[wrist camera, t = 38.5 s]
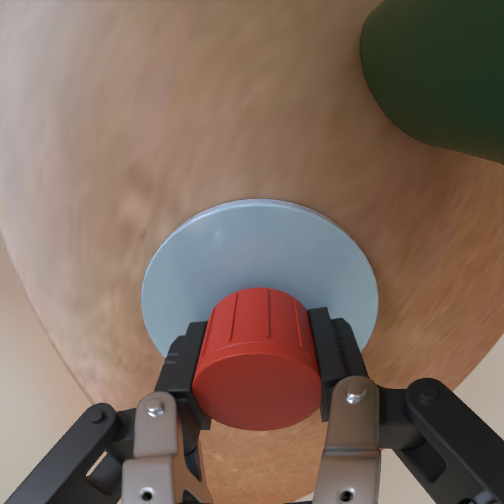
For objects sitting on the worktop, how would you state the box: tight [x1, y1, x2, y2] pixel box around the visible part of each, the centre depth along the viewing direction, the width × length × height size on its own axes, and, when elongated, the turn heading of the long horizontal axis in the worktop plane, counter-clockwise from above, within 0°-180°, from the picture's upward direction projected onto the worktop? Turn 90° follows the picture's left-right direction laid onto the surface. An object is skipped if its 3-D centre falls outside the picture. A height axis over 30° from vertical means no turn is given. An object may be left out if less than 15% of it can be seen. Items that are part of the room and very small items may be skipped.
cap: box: [192, 287, 321, 431], centre depth 9 cm, size 4×4×3 cm
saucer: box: [141, 199, 379, 359], centre depth 12 cm, size 10×10×1 cm
